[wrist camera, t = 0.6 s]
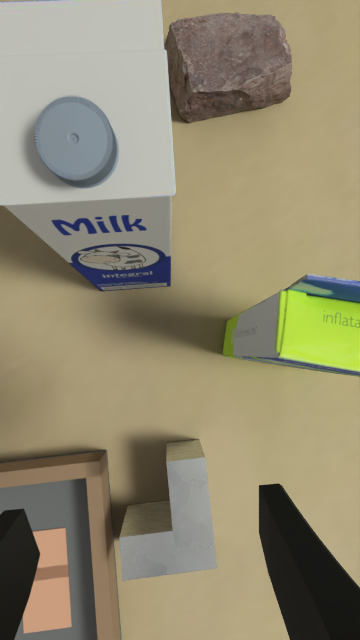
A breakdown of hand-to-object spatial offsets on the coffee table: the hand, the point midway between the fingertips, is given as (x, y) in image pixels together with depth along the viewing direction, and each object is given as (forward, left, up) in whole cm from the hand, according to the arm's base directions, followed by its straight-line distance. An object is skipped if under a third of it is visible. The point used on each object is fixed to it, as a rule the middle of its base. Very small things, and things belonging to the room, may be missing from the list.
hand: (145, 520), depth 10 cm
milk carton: (+15, +1, -20) cm, 25 cm away
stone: (+32, -10, -20) cm, 39 cm away
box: (+5, -12, -20) cm, 24 cm away
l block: (-7, 0, -20) cm, 21 cm away
